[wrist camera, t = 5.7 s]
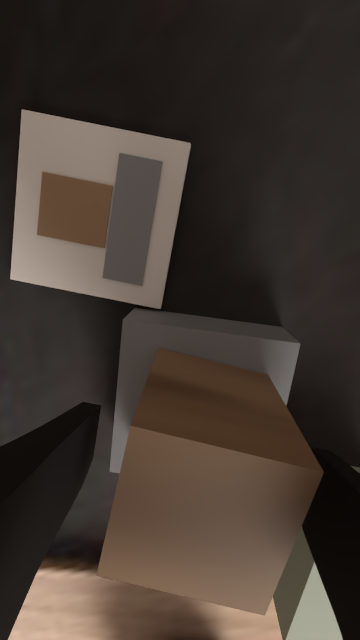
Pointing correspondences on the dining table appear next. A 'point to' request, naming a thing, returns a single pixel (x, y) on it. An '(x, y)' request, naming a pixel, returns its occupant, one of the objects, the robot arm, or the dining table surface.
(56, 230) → the card
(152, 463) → the walnut block
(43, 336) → the dining table surface
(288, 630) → the sage block
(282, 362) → the grey square block
